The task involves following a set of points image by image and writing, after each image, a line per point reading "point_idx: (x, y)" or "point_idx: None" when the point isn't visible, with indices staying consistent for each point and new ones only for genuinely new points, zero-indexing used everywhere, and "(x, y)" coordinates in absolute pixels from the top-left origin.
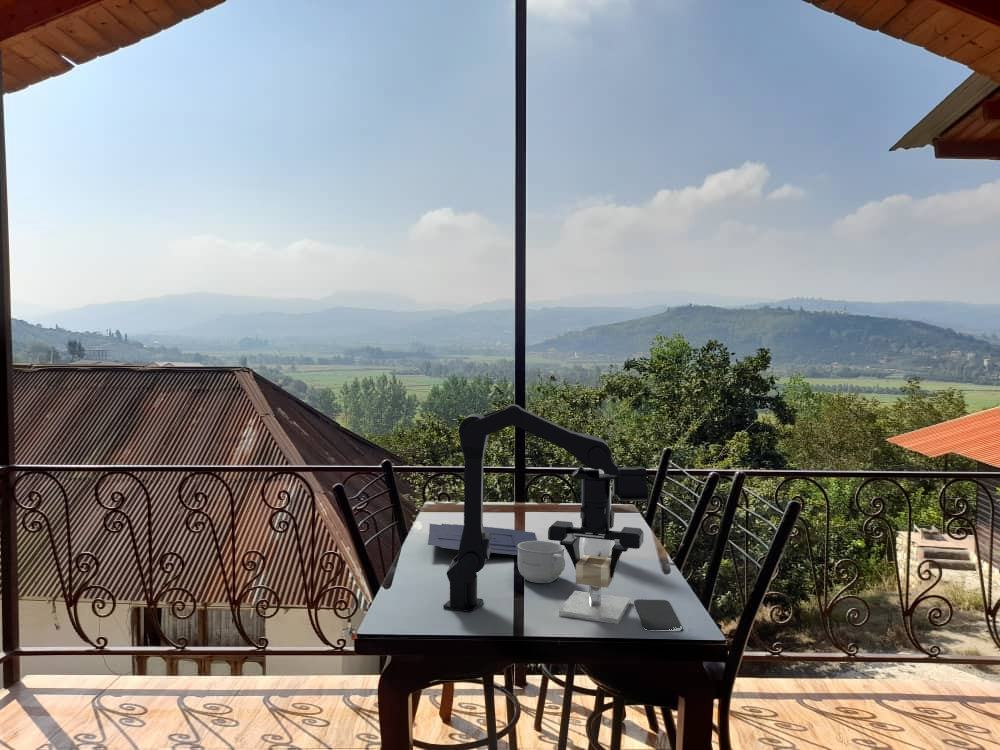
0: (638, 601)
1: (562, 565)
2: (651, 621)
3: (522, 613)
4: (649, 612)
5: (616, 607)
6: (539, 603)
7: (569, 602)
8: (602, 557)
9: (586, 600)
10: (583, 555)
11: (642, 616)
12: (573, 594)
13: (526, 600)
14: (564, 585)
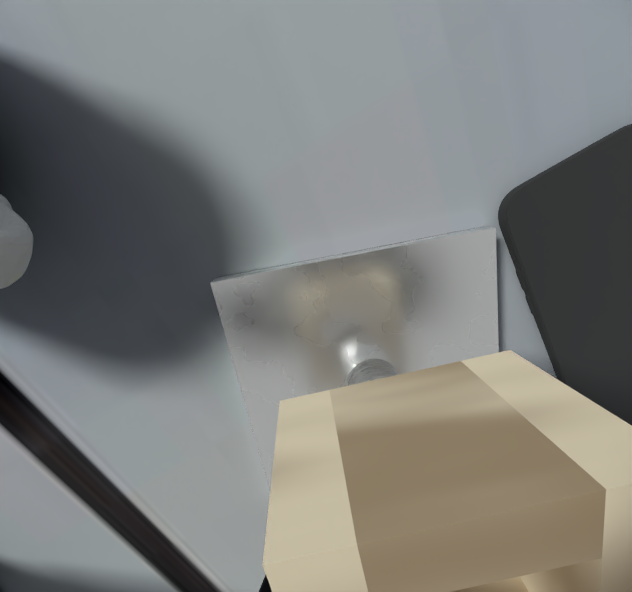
0: (526, 215)
1: (2, 277)
2: (605, 385)
3: (157, 534)
4: (589, 309)
5: None
6: (146, 435)
7: (268, 422)
8: (540, 520)
9: (321, 365)
10: (274, 577)
11: (568, 363)
12: (232, 331)
13: (81, 437)
14: (88, 171)
